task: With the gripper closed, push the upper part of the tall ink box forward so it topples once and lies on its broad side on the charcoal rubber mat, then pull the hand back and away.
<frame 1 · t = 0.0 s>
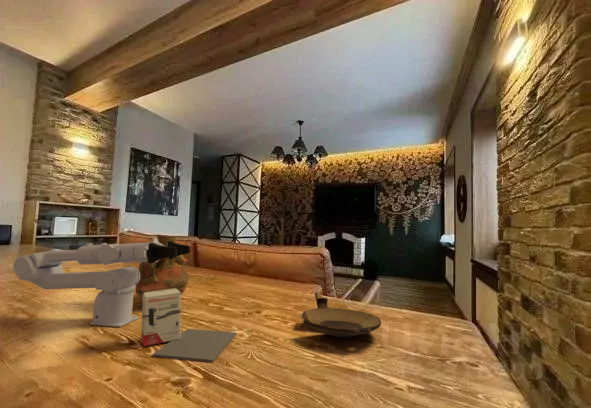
hand: (183, 250, 83), 22 cm above the table, tool horizontal, fingers open, 7 cm apart
oil lamp: (339, 330, 84), on the table
ink box: (161, 340, 71), on the table, touching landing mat
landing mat: (198, 344, 70), on the table
ceramic vessel: (163, 303, 105), on the table
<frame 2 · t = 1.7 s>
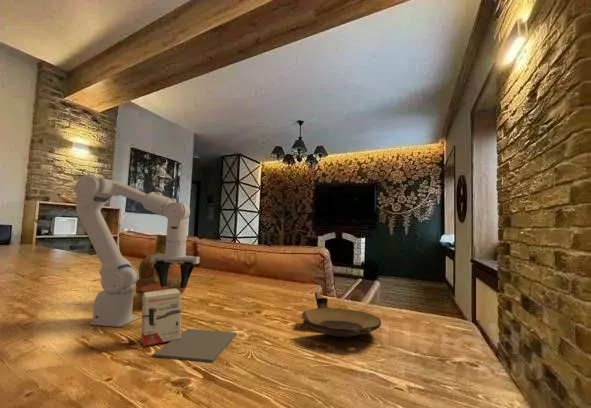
hand: (173, 286, 86), 10 cm above the table, tool pointing down, fingers open, 6 cm apart
nothing on the table moved.
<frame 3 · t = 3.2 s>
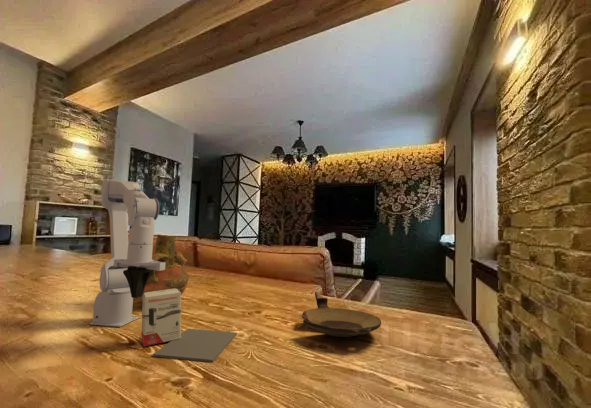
hand: (136, 296, 73), 10 cm above the table, tool pointing down, fingers closed
nothing on the table moved.
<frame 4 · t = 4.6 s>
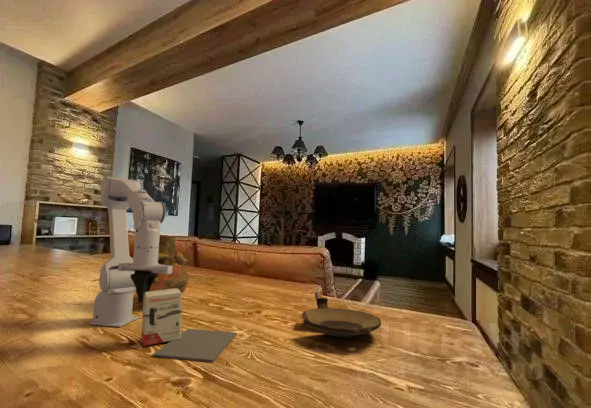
hand: (142, 300, 73), 10 cm above the table, tool pointing down, fingers closed, pressing on ink box
ink box: (161, 340, 71), on the table, touching gripper, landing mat
everything else where it was.
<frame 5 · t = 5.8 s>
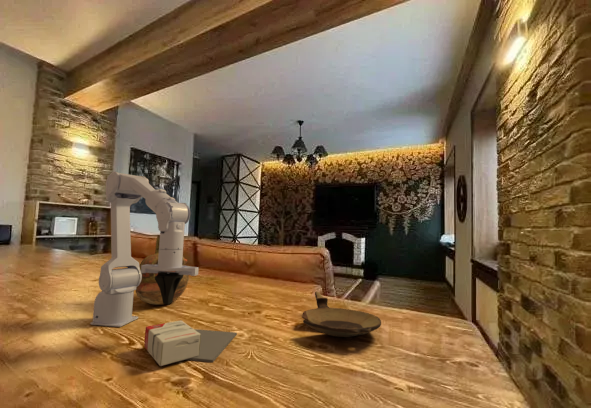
hand: (167, 303, 72), 9 cm above the table, tool pointing down, fingers closed
ink box: (163, 333, 69), point 3 cm above the table, touching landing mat
everything else where it was.
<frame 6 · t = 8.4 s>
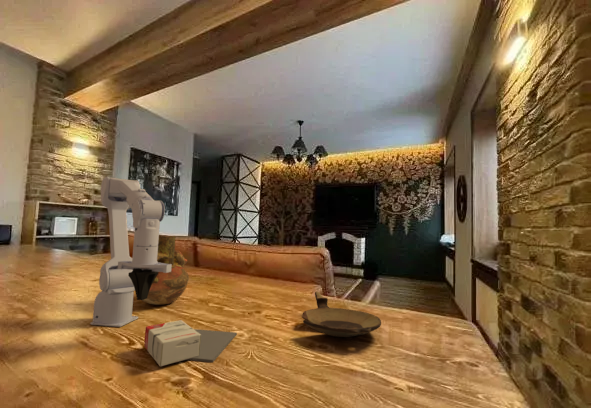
hand: (141, 299, 73), 10 cm above the table, tool pointing down, fingers closed
nothing on the table moved.
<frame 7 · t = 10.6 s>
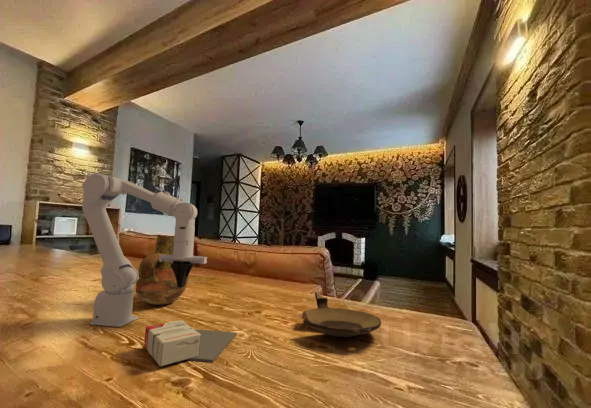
hand: (181, 286, 86), 10 cm above the table, tool pointing down, fingers closed
nothing on the table moved.
at the end: ink box tilted 90°; ink box touching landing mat; ink box inside the target area (4.8 cm from its centre), point 2.9 cm above the table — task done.
